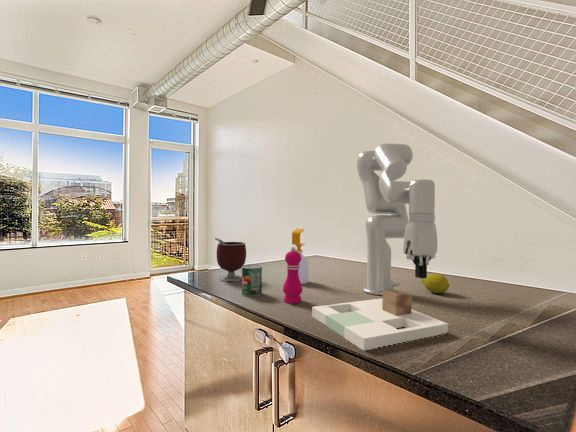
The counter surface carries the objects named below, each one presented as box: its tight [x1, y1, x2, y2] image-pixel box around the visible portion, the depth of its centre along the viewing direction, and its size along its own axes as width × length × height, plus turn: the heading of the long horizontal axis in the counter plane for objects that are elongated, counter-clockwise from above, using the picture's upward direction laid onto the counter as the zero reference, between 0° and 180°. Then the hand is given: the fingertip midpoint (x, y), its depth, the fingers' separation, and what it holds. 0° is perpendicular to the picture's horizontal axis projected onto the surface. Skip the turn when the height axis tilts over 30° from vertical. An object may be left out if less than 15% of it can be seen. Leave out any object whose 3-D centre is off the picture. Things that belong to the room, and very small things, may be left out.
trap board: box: [311, 297, 449, 351], centre depth 97 cm, size 28×27×3 cm
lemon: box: [421, 273, 451, 294], centre depth 135 cm, size 11×8×8 cm
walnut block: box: [382, 288, 413, 316], centre depth 100 cm, size 6×6×6 cm
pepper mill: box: [282, 246, 303, 305], centre depth 121 cm, size 7×7×20 cm
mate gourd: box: [214, 237, 247, 282], centre depth 156 cm, size 16×14×20 cm
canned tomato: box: [241, 264, 263, 297], centre depth 130 cm, size 8×8×11 cm
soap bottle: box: [291, 228, 310, 285], centre depth 151 cm, size 9×9×25 cm
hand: (420, 277), depth 103 cm, fingers closed
